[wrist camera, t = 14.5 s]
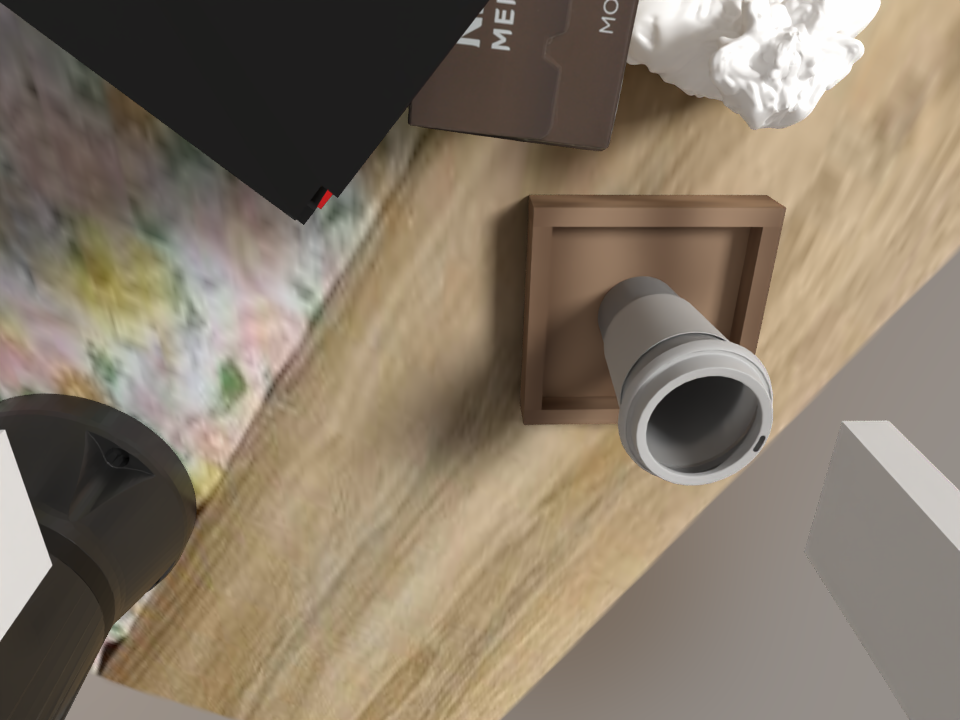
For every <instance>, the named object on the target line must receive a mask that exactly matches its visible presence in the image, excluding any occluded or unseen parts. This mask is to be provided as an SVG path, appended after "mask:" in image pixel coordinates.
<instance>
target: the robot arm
mask: <svg viewBox="0 0 960 720" xmlns="http://www.w3.org/2000/svg"><path fill="white" fill-rule="evenodd" d="M195 520H196V498H195V493H194V489H193V485H192V483H191V480H190V477H189V475H188V473H187V471H186V469H185V468H184V466H183V464H182V463H181V461H180V460H179V458H178V457H177V455H176V454H175V453H174V452H173V450H172V449H171V448H170V447H169V446H168V445H167V444H166V443H165V442H164V441H163V440H162V439H161V438H160V437H159V436H158V435H157V434H155V433H154V432H153V431H152V430H150V429H149V428H148V427H146V426H145V425H143V424H142V423H141V422H139V421H137V420H136V419H134V418H132V417H131V416H129V415H127V414H125V413H123V412H121V411H119V410H117V409H115V408H112V407H110V406H107V405H105V404H102V403H99V402H96V401H92V400H88V399H85V398H80V397H75V396H68V395H60V394H32V395H24V396H18V397H14V398H10V399H6V400H3V401H1V402H0V720H64V719H65V717H66V716H67V714H68V711H69V710H70V708H71V706H72V704H73V702H74V700H75V698H76V696H77V694H78V692H79V690H80V688H81V686H82V684H83V682H84V680H85V678H86V676H87V674H88V672H89V670H90V668H91V666H92V664H93V662H94V660H95V658H96V656H97V654H98V653H99V651H100V648H101V646H102V645H103V643H104V641H105V639H106V637H107V635H108V633H109V631H110V630H111V628H112V626H113V625H114V624H115V623H116V622H117V621H118V620H119V619H120V618H121V617H122V616H123V615H124V614H125V613H126V612H127V611H128V610H129V609H130V608H131V607H132V606H133V605H134V604H135V603H136V602H137V601H138V600H139V599H140V598H141V597H142V596H143V595H144V594H145V593H146V592H148V591H150V590H151V589H152V588H154V587H155V586H156V585H157V584H158V583H160V582H161V581H162V580H163V579H164V578H165V577H166V576H167V575H168V574H169V573H170V572H171V570H172V569H173V568H174V566H175V565H176V563H177V562H178V560H179V559H180V557H181V555H182V553H183V550H184V548H185V546H186V544H187V542H188V540H189V538H190V536H191V534H192V531H193V528H194V524H195ZM804 553H805V554H806V556H807V557H808V559H809V560H810V562H811V564H812V565H813V567H814V569H815V570H816V572H817V573H818V575H819V576H820V578H821V580H822V581H823V583H824V585H825V586H826V588H827V589H828V591H829V592H830V594H831V596H832V597H833V599H834V600H835V602H836V603H837V605H838V607H839V608H840V610H841V611H842V613H843V615H844V616H845V618H846V620H847V621H848V623H849V624H850V626H851V627H852V629H853V631H854V632H855V634H856V635H857V637H858V638H859V640H860V642H861V643H862V645H863V647H864V648H865V650H866V651H867V653H868V655H869V656H870V658H871V659H872V661H873V662H874V664H875V666H876V667H877V669H878V670H879V672H880V674H881V675H882V677H883V678H884V680H885V681H886V683H887V685H888V686H889V688H890V690H891V691H892V693H893V694H894V696H895V698H896V699H897V701H898V702H899V704H900V705H901V707H902V709H903V710H904V712H905V713H906V715H907V717H908V718H909V720H960V491H959V490H958V489H957V488H956V487H955V486H954V485H953V484H952V483H951V482H950V481H949V480H948V479H947V478H946V477H945V476H944V475H943V474H942V473H941V472H940V471H939V470H938V469H937V468H936V467H935V466H934V465H933V464H932V463H931V462H930V461H929V460H928V459H927V458H926V457H925V456H924V455H923V454H922V453H921V452H920V451H919V450H918V449H917V448H916V447H915V446H914V445H913V444H912V443H911V442H909V440H907V438H906V437H905V436H904V435H902V433H901V432H900V431H899V430H897V428H896V427H894V426H893V425H892V424H891V423H890V422H889V421H842V423H841V426H840V430H839V433H838V437H837V440H836V444H835V447H834V451H833V454H832V458H831V461H830V464H829V468H828V472H827V475H826V478H825V482H824V485H823V489H822V492H821V496H820V499H819V502H818V506H817V509H816V513H815V516H814V520H813V523H812V526H811V530H810V533H809V537H808V540H807V544H806V547H805V551H804Z"/></svg>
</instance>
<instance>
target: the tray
mask: <svg viewBox="0 0 960 720" xmlns="http://www.w3.org/2000/svg"><path fill="white" fill-rule="evenodd" d="M785 211H786V207H784V206H783V205H781V204H779V203H778V202H776V201H775V200H773V199H772V198H770V197H769V196H767V195H529V209H528V232H527V255H526V278H525V300H524V323H523V346H522V369H521V392H520V406H521V412H522V417H523V423H524V425H534V424H618V416H619V410H620V408H619V404H618V401H617V397H616V394H615V390H614V386H613V383H612V379H611V376H610V372H609V369H608V365H607V362H606V358H605V355H604V342H603V339H602V335H601V332H600V328H599V324H598V311H599V307H600V305H601V302H602V300H603V299H604V297H605V296H606V294H607V293H608V292H609V291H610V290H611V289H612V288H613V287H614V286H616V285H617V284H619V283H620V282H622V281H624V280H627V279H630V278H633V277H640V276H645V277H652V278H656V279H659V280H661V281H663V282H664V283H666V284H667V285H668V286H669V287H670V288H671V289H672V290H673V291H674V292H675V293H676V294H677V295H678V296H679V297H680V298H683V299H684V300H686V301H687V302H689V303H690V304H691V305H692V306H693V307H694V308H695V309H696V310H698V311H699V312H700V313H701V314H702V315H703V316H704V317H705V318H706V319H707V320H708V321H709V322H710V323H711V324H712V325H713V326H714V327H715V328H716V329H717V330H718V331H719V332H720V333H721V334H722V335H723V336H724V337H725V338H727V339H728V340H729V341H730V342H732V343H735V344H738V345H740V346H742V347H744V348H746V349H748V350H749V351H750V352H752V353H753V354H754V355H755V353H756V348H757V343H758V338H759V334H760V329H761V324H762V320H763V315H764V310H765V305H766V301H767V296H768V291H769V287H770V282H771V277H772V272H773V268H774V263H775V258H776V254H777V249H778V244H779V240H780V235H781V230H782V225H783V221H784V216H785Z"/></svg>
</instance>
